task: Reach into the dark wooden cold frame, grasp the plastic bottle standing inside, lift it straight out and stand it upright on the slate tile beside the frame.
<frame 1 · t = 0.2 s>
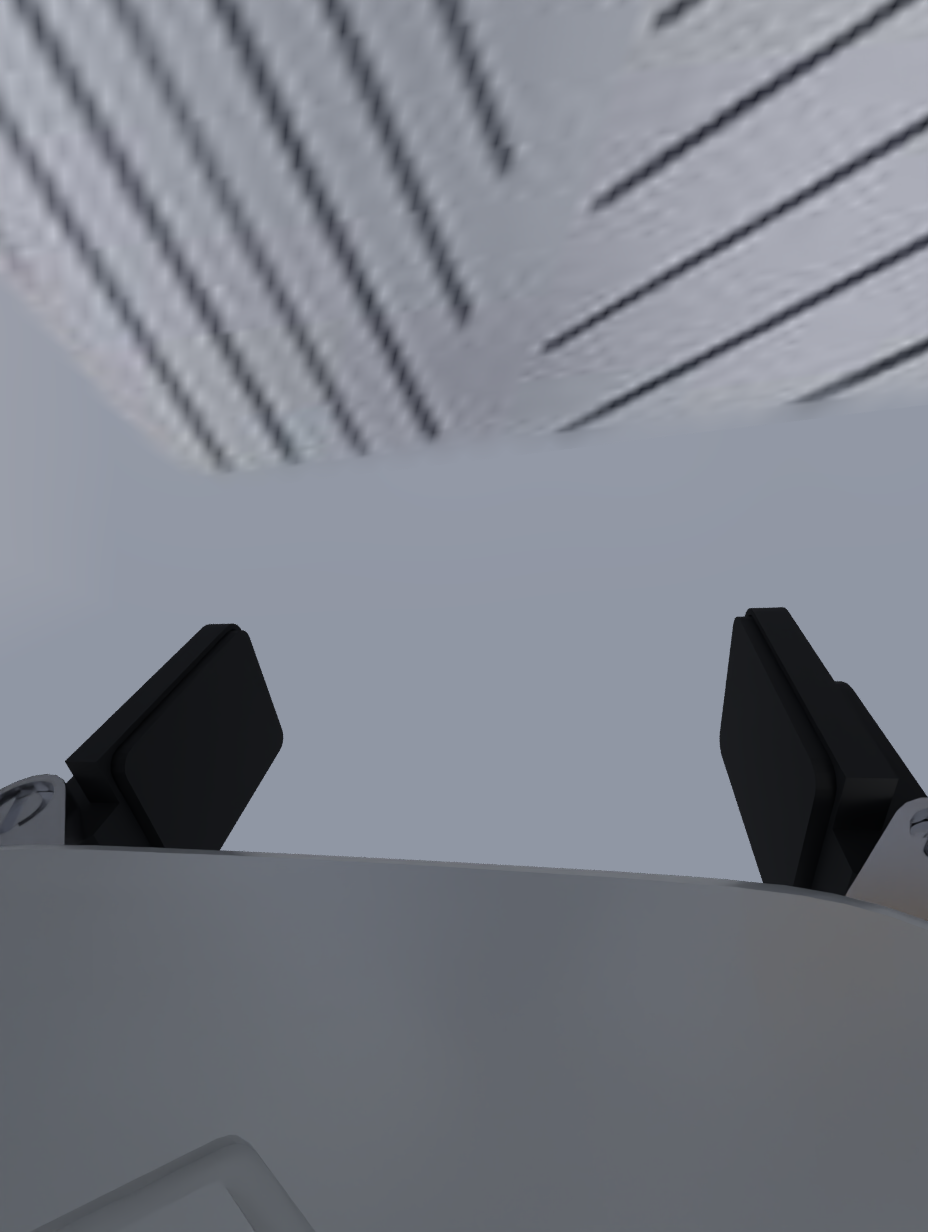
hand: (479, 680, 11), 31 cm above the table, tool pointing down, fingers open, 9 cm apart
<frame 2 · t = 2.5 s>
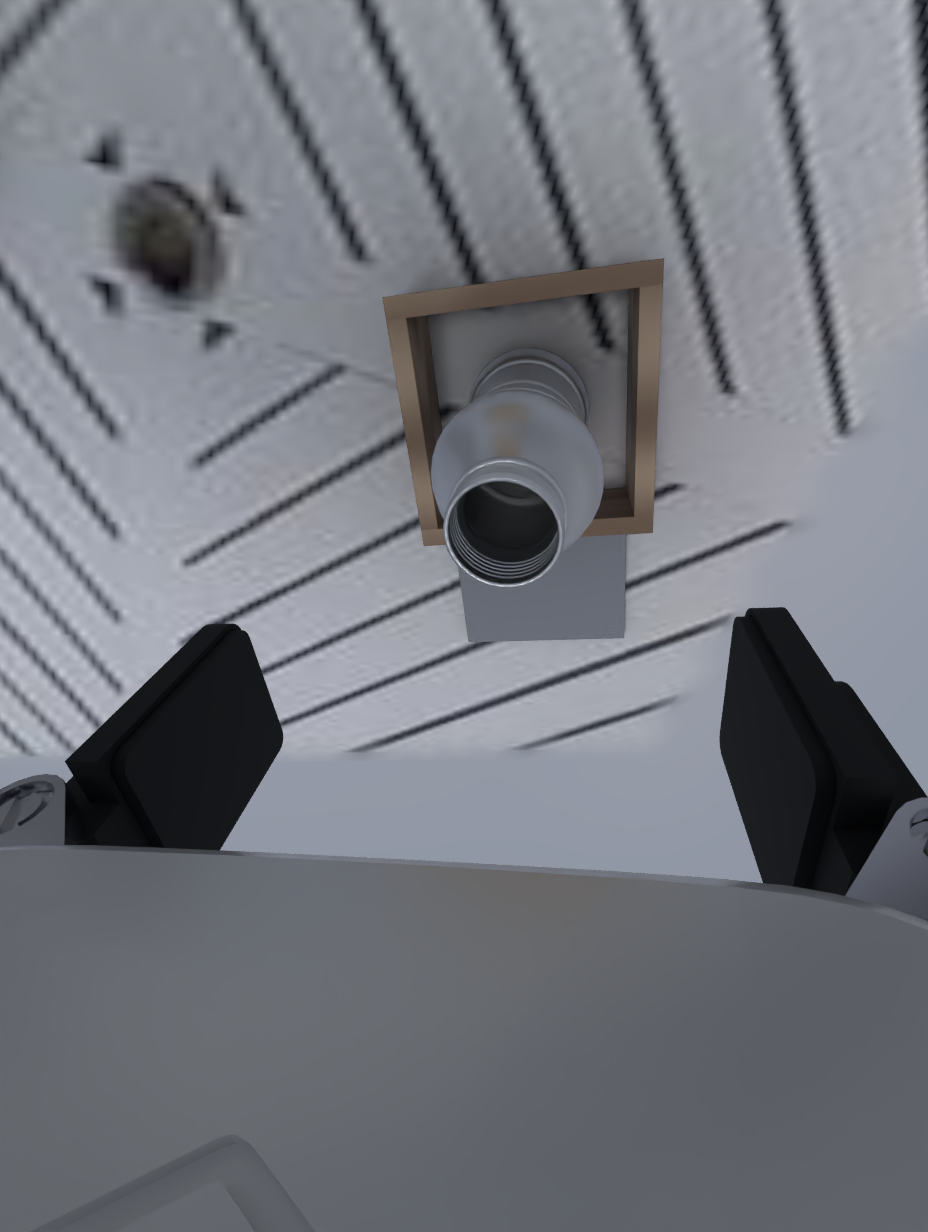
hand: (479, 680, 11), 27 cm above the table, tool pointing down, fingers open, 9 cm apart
cold frame: (530, 404, 34), on the table
slate tile: (541, 585, 40), on the table
plastic bottle: (530, 403, 35), resting in cold frame
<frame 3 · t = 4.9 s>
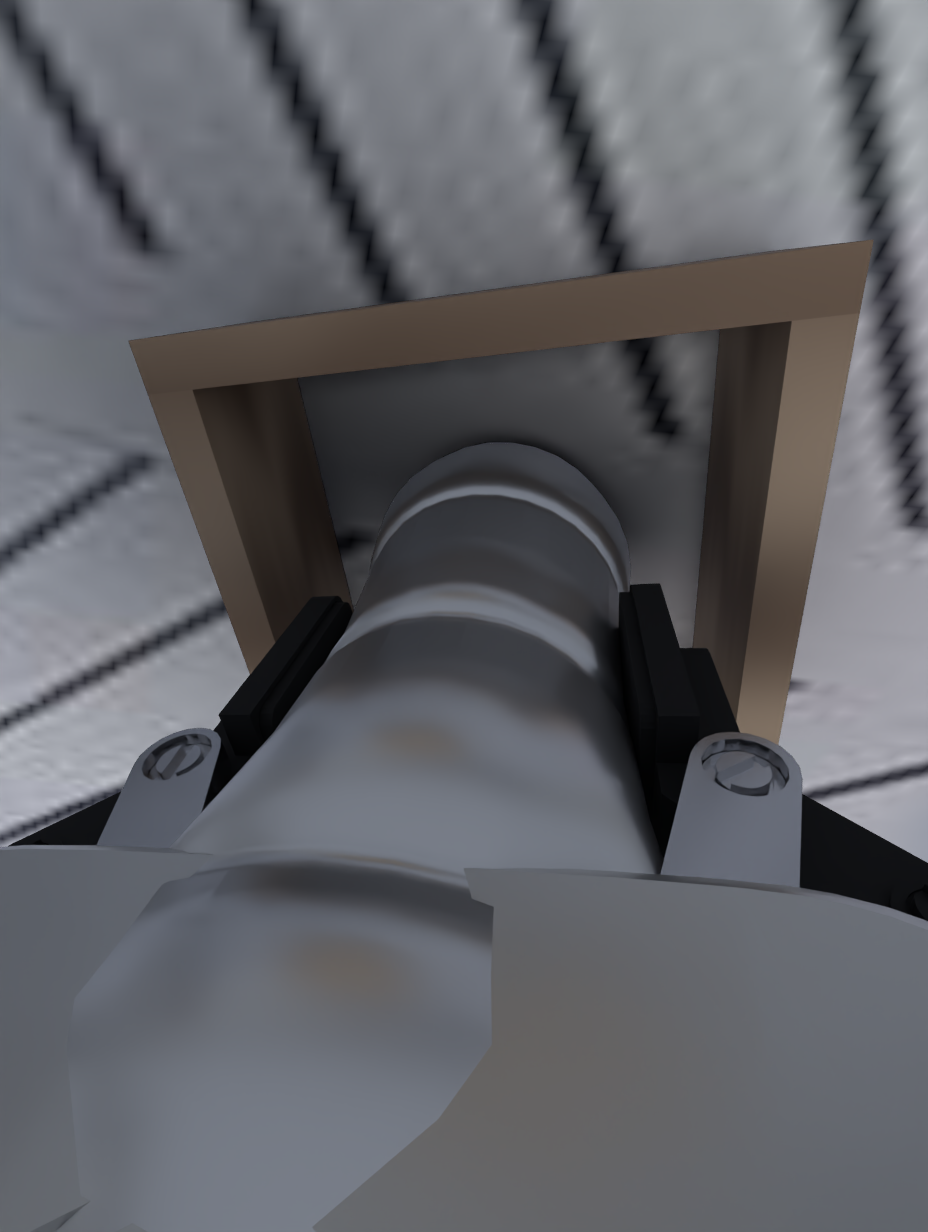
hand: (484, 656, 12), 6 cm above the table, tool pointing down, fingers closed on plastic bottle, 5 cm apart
cold frame: (509, 535, 18), on the table
plastic bottle: (510, 533, 18), resting in cold frame, touching gripper
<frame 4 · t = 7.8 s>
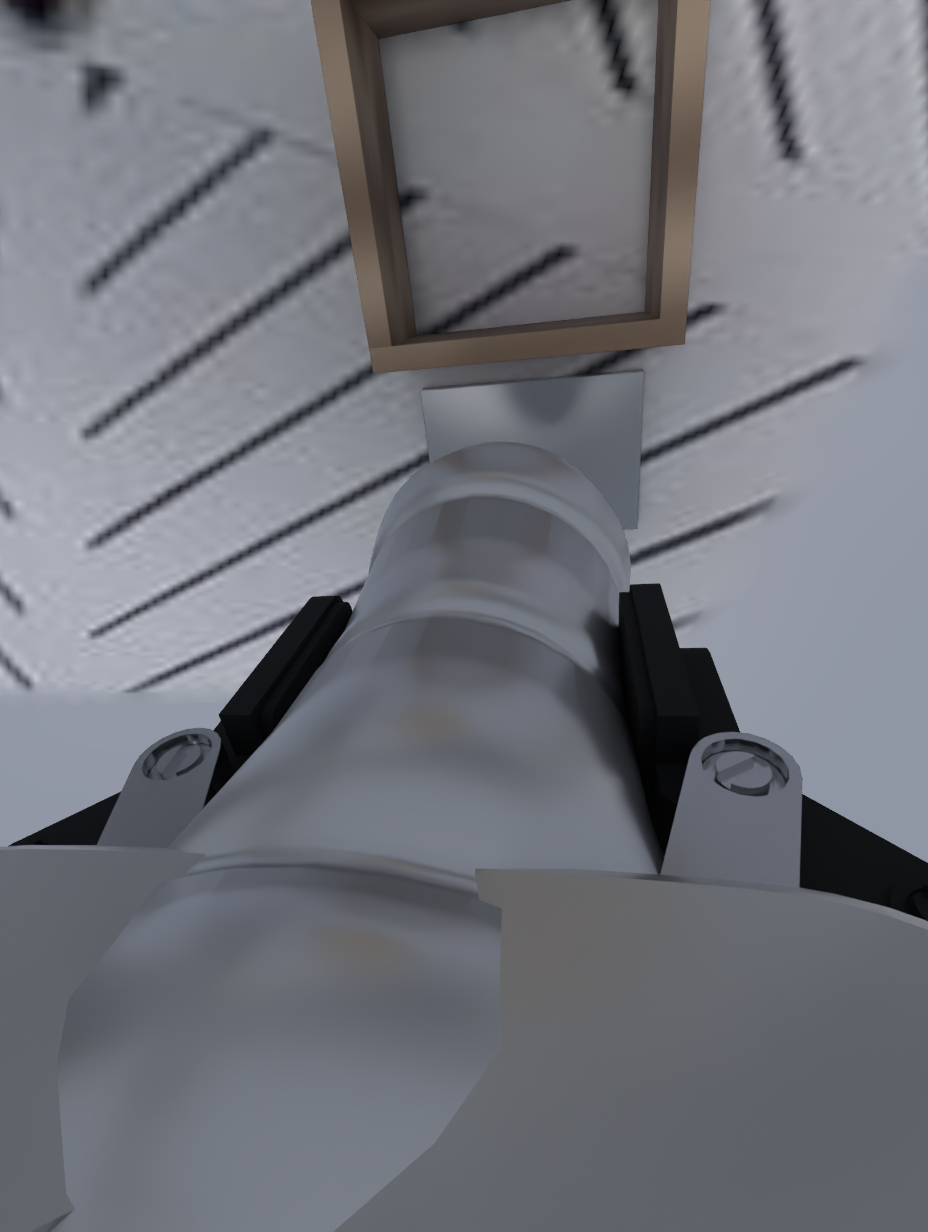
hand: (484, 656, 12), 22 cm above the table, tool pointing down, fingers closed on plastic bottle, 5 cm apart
cold frame: (520, 184, 25), on the table
slate tile: (532, 458, 31), on the table
plastic bottle: (510, 532, 18), point 15 cm above the table, touching gripper
when the fingers open (8 cm above the table, at t = 11.0 s): plastic bottle stays where it is, resting on slate tile.
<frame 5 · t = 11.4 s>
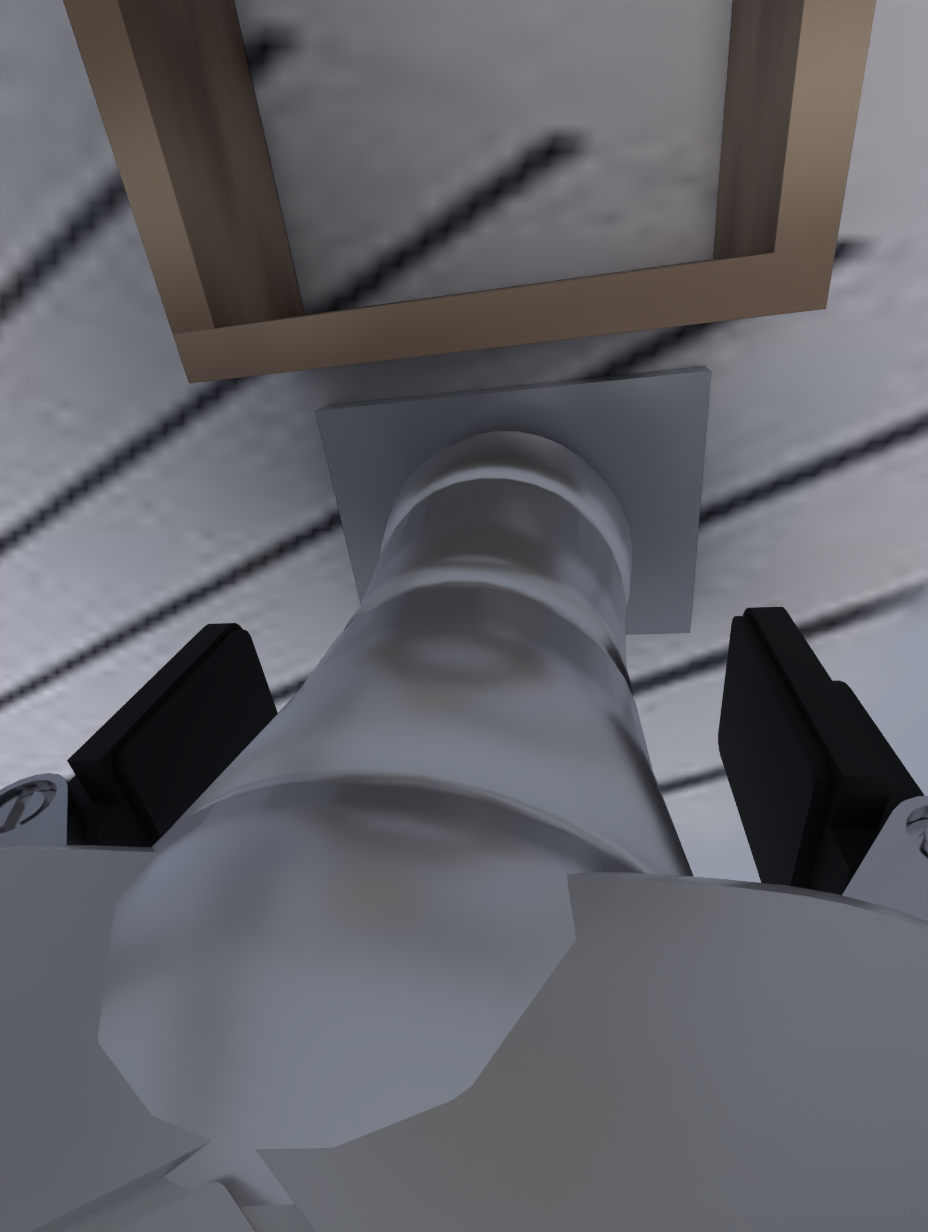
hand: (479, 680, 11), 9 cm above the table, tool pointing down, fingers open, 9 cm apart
cold frame: (472, 7, 13), on the table
slate tile: (514, 518, 19), on the table
plastic bottle: (515, 521, 18), point 1 cm above the table, touching slate tile
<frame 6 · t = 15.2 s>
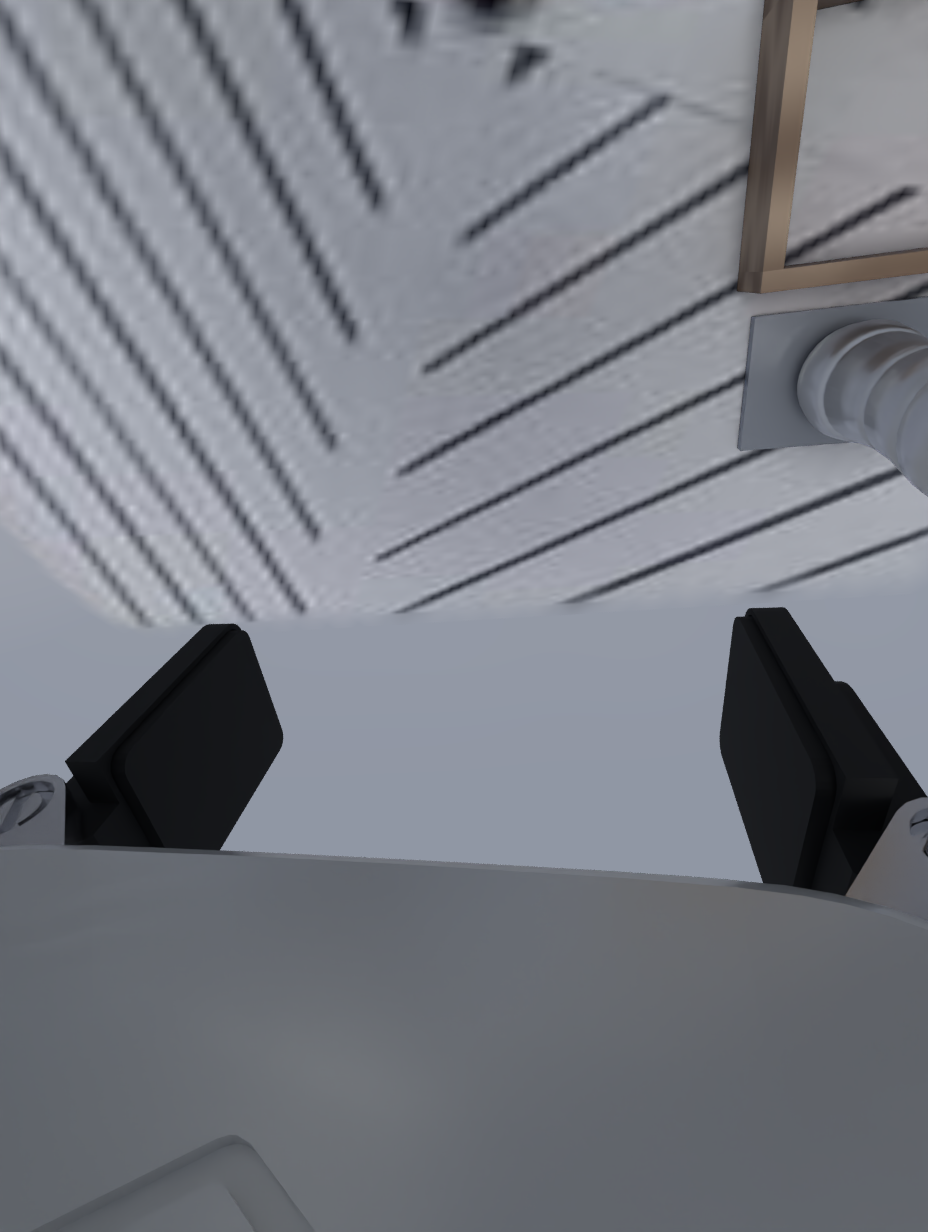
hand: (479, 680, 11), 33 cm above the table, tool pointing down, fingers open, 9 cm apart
cold frame: (881, 135, 31), on the table
slate tile: (837, 376, 37), on the table
plastic bottle: (843, 375, 36), point 1 cm above the table, touching slate tile
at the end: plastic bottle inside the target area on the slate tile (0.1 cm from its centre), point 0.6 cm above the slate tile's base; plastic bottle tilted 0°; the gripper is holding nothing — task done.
